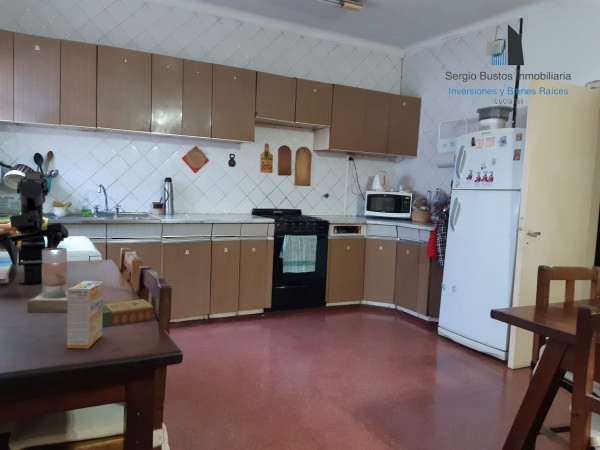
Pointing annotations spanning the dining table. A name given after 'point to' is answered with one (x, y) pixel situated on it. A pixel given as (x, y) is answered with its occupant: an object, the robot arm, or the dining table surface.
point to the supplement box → (84, 314)
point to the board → (47, 304)
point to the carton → (126, 312)
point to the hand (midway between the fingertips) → (31, 262)
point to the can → (54, 273)
